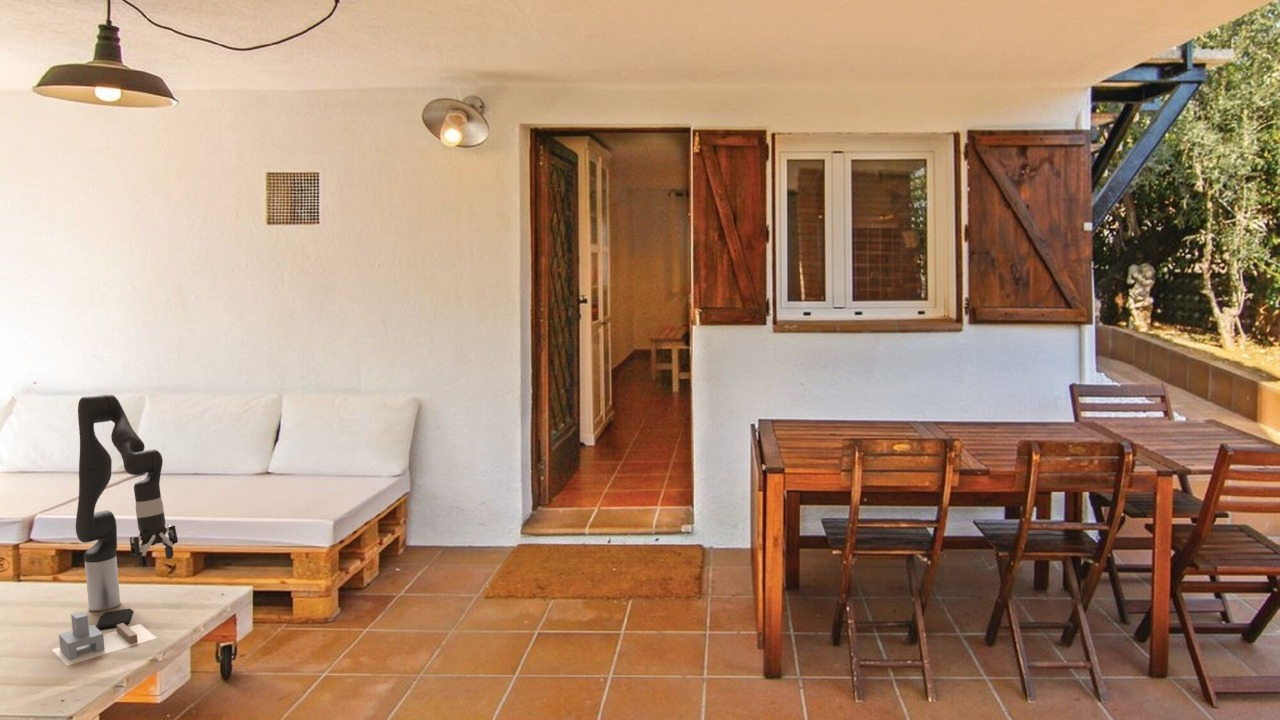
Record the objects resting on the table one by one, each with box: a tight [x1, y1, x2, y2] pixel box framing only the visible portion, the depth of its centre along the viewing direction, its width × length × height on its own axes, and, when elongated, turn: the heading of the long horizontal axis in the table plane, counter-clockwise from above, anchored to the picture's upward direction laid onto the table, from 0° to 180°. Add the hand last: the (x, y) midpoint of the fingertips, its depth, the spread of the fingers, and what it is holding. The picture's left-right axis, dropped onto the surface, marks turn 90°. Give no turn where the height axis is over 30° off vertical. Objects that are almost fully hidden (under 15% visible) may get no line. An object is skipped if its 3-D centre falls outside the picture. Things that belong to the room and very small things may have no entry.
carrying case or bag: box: [95, 608, 134, 631], centre depth 275 cm, size 11×3×15 cm
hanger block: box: [58, 610, 105, 660], centre depth 252 cm, size 10×9×11 cm
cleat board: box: [51, 623, 157, 666], centre depth 257 cm, size 16×24×4 cm, turn 138°
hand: (157, 562), depth 267 cm, fingers open, 8 cm apart
